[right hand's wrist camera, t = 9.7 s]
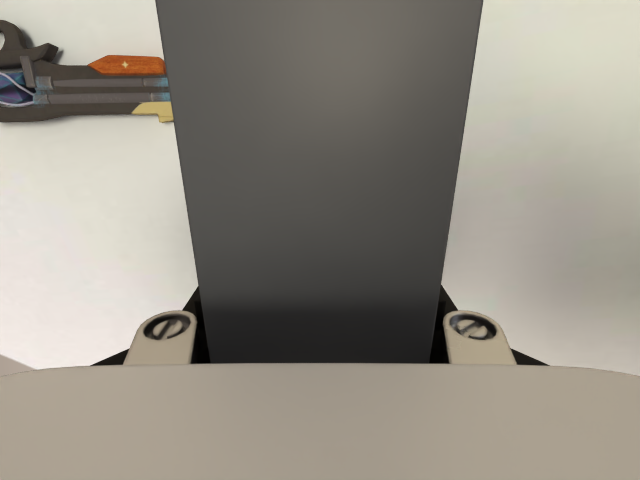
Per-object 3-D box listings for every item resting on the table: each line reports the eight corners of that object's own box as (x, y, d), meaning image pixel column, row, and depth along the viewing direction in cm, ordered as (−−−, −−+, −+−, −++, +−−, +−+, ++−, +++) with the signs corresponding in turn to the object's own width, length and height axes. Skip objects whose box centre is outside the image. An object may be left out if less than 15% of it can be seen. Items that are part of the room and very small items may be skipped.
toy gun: (-177, -52, 20) (-117, 126, 23) (156, -45, 22) (177, 120, 25) (-124, -29, 23) (-76, 128, 25) (170, -24, 25) (187, 123, 27)
